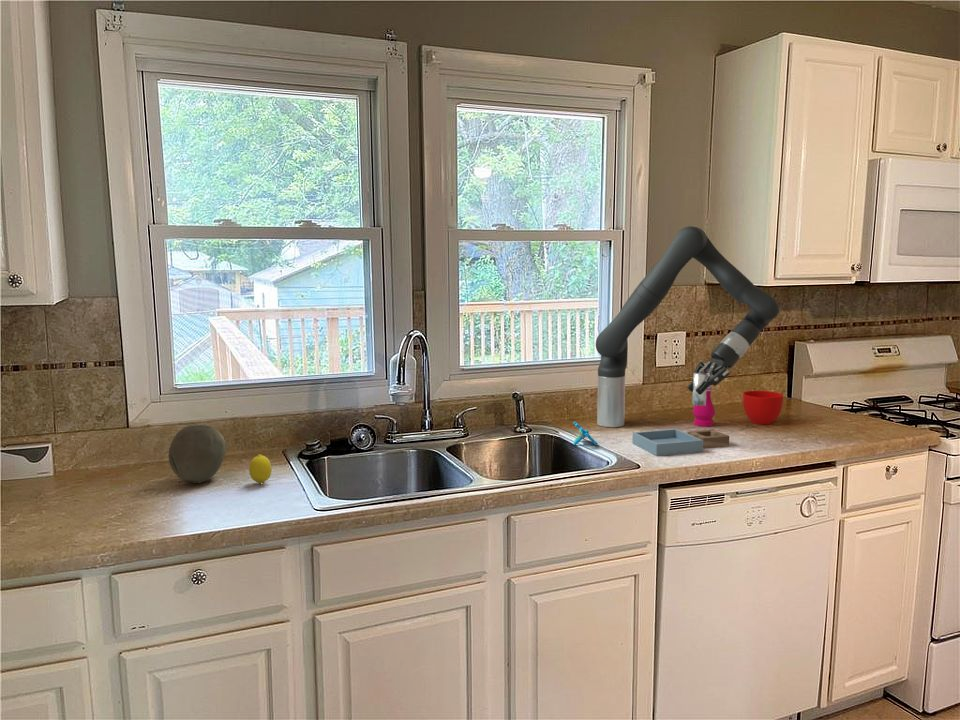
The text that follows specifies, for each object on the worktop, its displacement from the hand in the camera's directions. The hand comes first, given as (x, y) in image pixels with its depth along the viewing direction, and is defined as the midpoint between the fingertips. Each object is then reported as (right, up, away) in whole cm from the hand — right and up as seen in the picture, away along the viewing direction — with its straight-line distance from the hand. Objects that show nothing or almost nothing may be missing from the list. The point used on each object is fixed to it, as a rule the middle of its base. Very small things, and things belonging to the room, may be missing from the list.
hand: (693, 391), depth 216 cm
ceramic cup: (+33, -12, +32) cm, 48 cm away
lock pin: (+2, -4, +1) cm, 5 cm away
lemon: (-123, -23, -30) cm, 128 cm away
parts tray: (-8, -17, -1) cm, 19 cm away
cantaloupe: (-140, -23, -27) cm, 144 cm away
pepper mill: (+12, -13, +28) cm, 33 cm away
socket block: (+5, -16, +4) cm, 18 cm away
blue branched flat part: (-33, -17, +4) cm, 37 cm away
